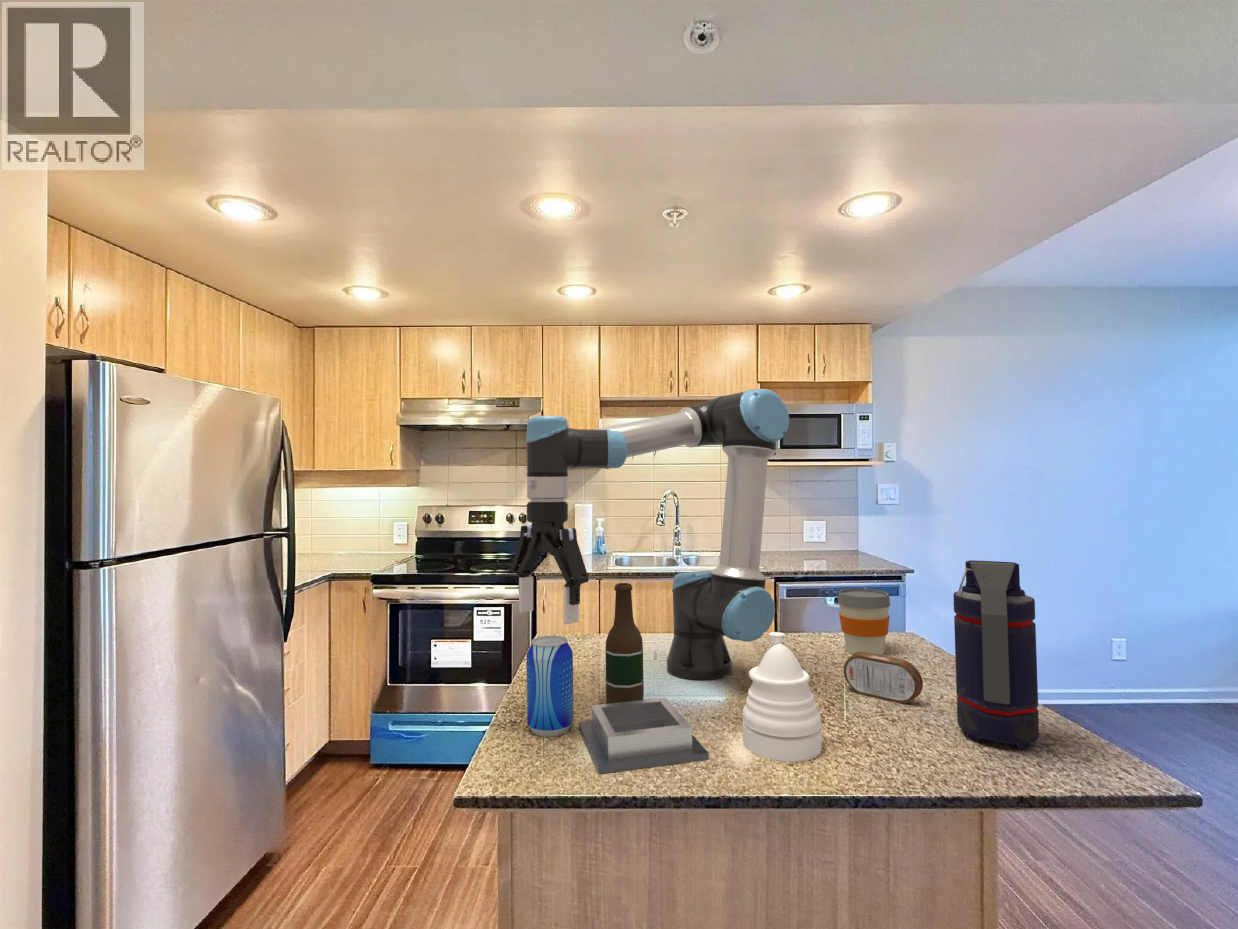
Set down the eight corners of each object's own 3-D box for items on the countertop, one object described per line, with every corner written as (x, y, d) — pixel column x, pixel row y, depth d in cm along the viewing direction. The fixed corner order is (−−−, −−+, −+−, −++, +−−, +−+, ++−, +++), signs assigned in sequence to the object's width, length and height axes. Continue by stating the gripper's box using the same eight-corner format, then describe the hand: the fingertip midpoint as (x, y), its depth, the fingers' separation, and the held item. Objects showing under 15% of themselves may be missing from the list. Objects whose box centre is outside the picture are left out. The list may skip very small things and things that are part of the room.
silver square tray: (672, 717, 114) (672, 693, 114) (708, 759, 97) (708, 731, 97) (578, 727, 110) (578, 702, 110) (598, 774, 92) (598, 744, 92)
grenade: (958, 717, 111) (953, 555, 112) (1036, 730, 105) (1030, 558, 106) (956, 747, 100) (950, 564, 100) (1044, 763, 93) (1037, 569, 94)
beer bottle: (631, 714, 116) (629, 588, 116) (598, 706, 120) (596, 585, 121) (651, 701, 122) (649, 582, 123) (619, 694, 127) (617, 579, 127)
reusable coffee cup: (834, 644, 162) (832, 588, 162) (883, 645, 160) (881, 588, 160) (845, 658, 149) (843, 597, 150) (898, 659, 148) (896, 597, 148)
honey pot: (737, 728, 108) (735, 628, 109) (809, 728, 108) (806, 627, 108) (750, 762, 96) (748, 647, 96) (832, 762, 95) (829, 647, 96)
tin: (924, 704, 118) (922, 661, 119) (918, 709, 116) (917, 665, 116) (848, 687, 129) (847, 647, 129) (842, 691, 126) (841, 650, 127)
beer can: (566, 740, 105) (565, 647, 105) (520, 736, 106) (519, 645, 107) (579, 721, 113) (577, 635, 113) (536, 718, 115) (535, 633, 115)
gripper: (493, 500, 117) (493, 610, 116) (574, 502, 99) (575, 632, 98) (525, 499, 122) (525, 604, 122) (608, 501, 104) (609, 624, 104)
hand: (547, 617), depth 110 cm, fingers open, 13 cm apart
